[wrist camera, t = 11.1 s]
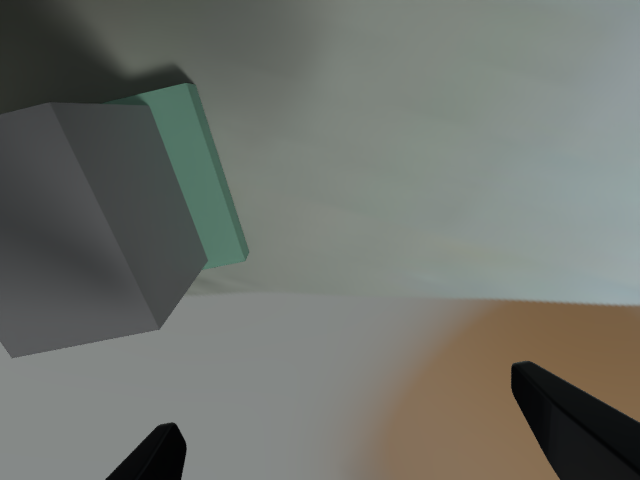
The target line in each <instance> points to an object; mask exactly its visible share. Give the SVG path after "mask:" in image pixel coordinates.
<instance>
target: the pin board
mask: <svg viewBox="0 0 640 480" xmlns="http://www.w3.org/2000/svg"><path fill="white" fill-rule="evenodd" d="M100 104H117V105H147V106H150V109H151V111H152V114H153V117H154V119H155V122H156V125H157V127H158V130H159V132H160V135H161V138H162V140H163V143H164V146H165V148H166V151H167V154H168V156H169V159H170V161H171V164H172V167H173V169H174V172H175V175H176V177H177V180H178V182H179V185H180V188H181V190H182V193H183V196H184V198H185V201H186V204H187V206H188V209H189V211H190V214H191V217H192V219H193V222H194V225H195V227H196V230H197V232H198V235H199V238H200V240H201V243H202V246H203V248H204V251H205V254H206V256H207V259H208V262H207V263H206V264H205V266H204V267H203V269H208V268H213V267H218V266H223V265H228V264H233V263H238V262H243V261H245V260H246V258H247V256H248V254H249V250H248V247H247V244H246V241H245V237H244V234H243V231H242V228H241V225H240V222H239V219H238V216H237V213H236V209H235V206H234V203H233V200H232V197H231V194H230V191H229V188H228V185H227V181H226V178H225V175H224V172H223V169H222V166H221V163H220V160H219V157H218V153H217V150H216V147H215V144H214V141H213V138H212V135H211V132H210V129H209V125H208V122H207V119H206V116H205V113H204V110H203V107H202V104H201V101H200V98H199V94H198V91H197V88H196V85H194V84H190V83H183V84H179V85H175V86H171V87H167V88H162V89H158V90H154V91H150V92H146V93H142V94H137V95H133V96H129V97H125V98H121V99H117V100H112V101H108V102H104V103H100ZM203 269H202V270H203Z"/></svg>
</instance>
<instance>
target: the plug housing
mask: <svg viewBox="0 0 640 480" xmlns="http://www.w3.org/2000/svg"><path fill="white" fill-rule="evenodd" d="M207 262H208V259H207V256H206V254H205V251H204V248H203V246H202V243H201V240H200V238H199V235H198V232H197V230H196V227H195V225H194V222H193V219H192V217H191V214H190V211H189V209H188V206H187V204H186V201H185V198H184V196H183V193H182V190H181V188H180V185H179V182H178V180H177V177H176V175H175V172H174V169H173V167H172V164H171V161H170V159H169V156H168V154H167V151H166V148H165V146H164V143H163V140H162V138H161V135H160V132H159V130H158V127H157V125H156V122H155V119H154V117H153V114H152V111H151V109H150V106H147V105H117V104H88V103H58V102H48V103H44V104H40V105H36V106H32V107H28V108H24V109H20V110H15V111H11V112H7V113H3V114H0V342H1V343H2V345H3V346H4V347H5V349H6V350H7V352H8V353H9V354H10V356H11V357H12V358H15V357H20V356H26V355H30V354H35V353H41V352H46V351H51V350H56V349H61V348H67V347H72V346H77V345H82V344H87V343H93V342H97V341H103V340H107V339H113V338H118V337H123V336H129V335H134V334H138V333H144V332H149V331H154V330H159V329H160V328H161V327H162V325H163V324H164V322H165V321H166V320H167V318H168V317H169V315H170V314H171V313H172V311H173V310H174V308H175V307H176V305H177V304H178V303H179V301H180V300H181V298H182V297H183V296H184V294H185V293H186V291H187V290H188V288H189V287H190V286H191V284H192V283H193V281H194V280H195V279H196V277H197V276H198V274H199V273H200V272H201V270H202V269H203V267H204V266H205V264H206V263H207Z"/></svg>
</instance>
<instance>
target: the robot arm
mask: <svg viewBox="0 0 640 480" xmlns="http://www.w3.org/2000/svg"><path fill="white" fill-rule="evenodd" d="M511 389H512V393H513V395H514V397H515V399H516V401H517V403H518V405H519V407H520V409H521V411H522V413H523V415H524V416H525V418H526V420H527V422H528V424H529V426H530V428H531V430H532V432H533V433H534V435H535V437H536V439H537V441H538V443H539V445H540V447H541V449H542V451H543V452H544V454H545V456H546V458H547V460H548V461H549V463H550V464H551V466H552V468H553V469H554V471H555V473H556V474H557V476H558V477H559V478H560V480H640V422H638V421H636V420H634V419H633V418H630V417H629V416H627V415H625V414H624V413H622V412H620V411H618V410H617V409H615V408H613V407H611V406H609V405H608V404H606V403H604V402H602V401H600V400H599V399H597V398H595V397H593V396H592V395H590V394H588V393H586V392H585V391H583V390H581V389H579V388H577V387H576V386H574V385H572V384H570V383H569V382H567V381H565V380H563V379H561V378H560V377H558V376H556V375H554V374H552V373H551V372H549V371H547V370H545V369H543V368H542V367H540V366H538V365H537V364H535V363H533V362H530V361H523V362H517V363H513V364H512V368H511ZM186 450H187V448H186V442H185V440H184V438H183V436H182V434H181V432H180V430H179V428H178V426H177V425H176V424H175V423H167V424H161V425H159V426H157V427H156V428H155V429H154V430H153V431H152V432H151V433H150V434H149V435H148V436H147V437H146V438H145V439H144V440H143V441H142V442H141V443H140V445H138V446H137V448H136V449H135V450H134V451H133V452H132V453H131V454H130V455H129V456H128V457H127V458H126V459H125V460H124V461H123V462H122V463H121V464H120V465H119V466H118V467H117V468H116V469H115V470H114V471H113V472H112V473H111V474H110V475H109V476H108V477H107V478H106V480H181V477H182V472H183V467H184V462H185V456H186Z"/></svg>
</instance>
